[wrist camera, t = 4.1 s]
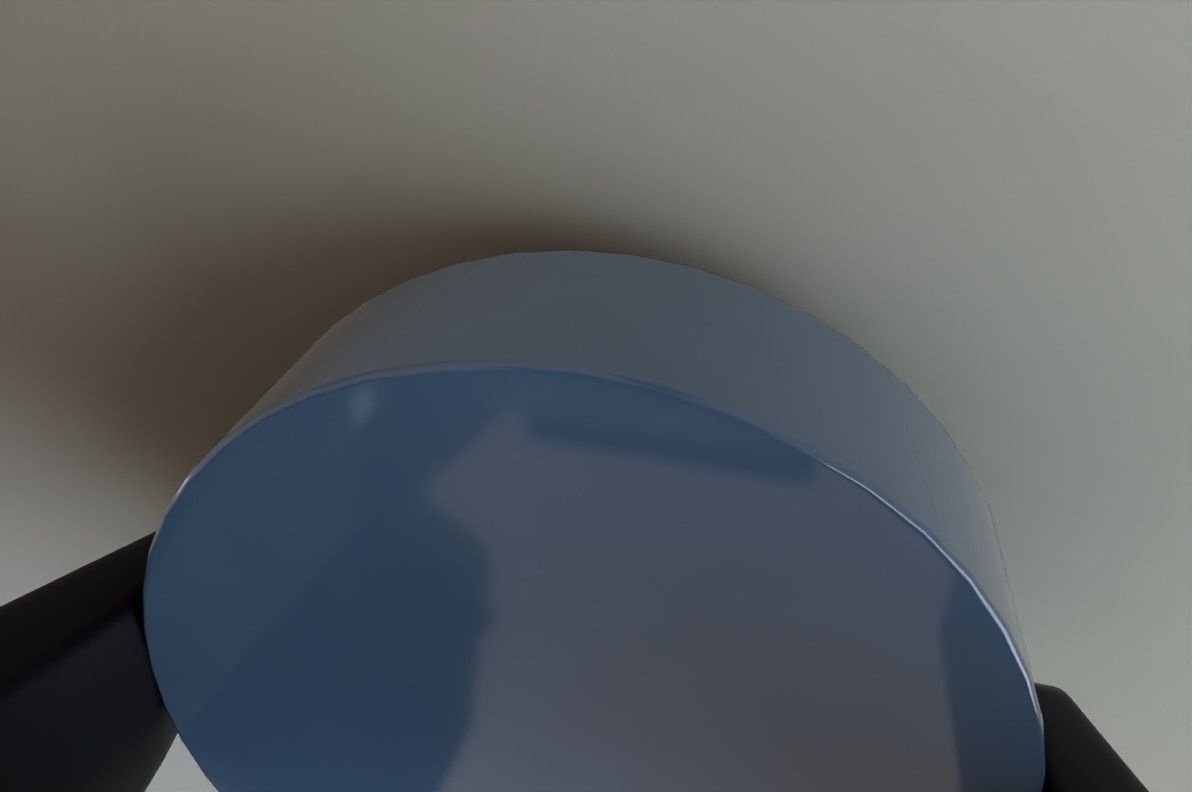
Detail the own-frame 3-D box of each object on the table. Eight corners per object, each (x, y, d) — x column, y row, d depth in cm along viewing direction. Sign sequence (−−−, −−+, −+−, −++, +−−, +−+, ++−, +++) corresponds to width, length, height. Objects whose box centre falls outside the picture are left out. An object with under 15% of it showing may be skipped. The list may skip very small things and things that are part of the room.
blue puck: (1110, 285, 7) (1228, 473, 5) (892, 844, 11) (909, 1080, 9) (237, 167, 8) (42, 285, 6) (317, 718, 12) (212, 904, 10)
